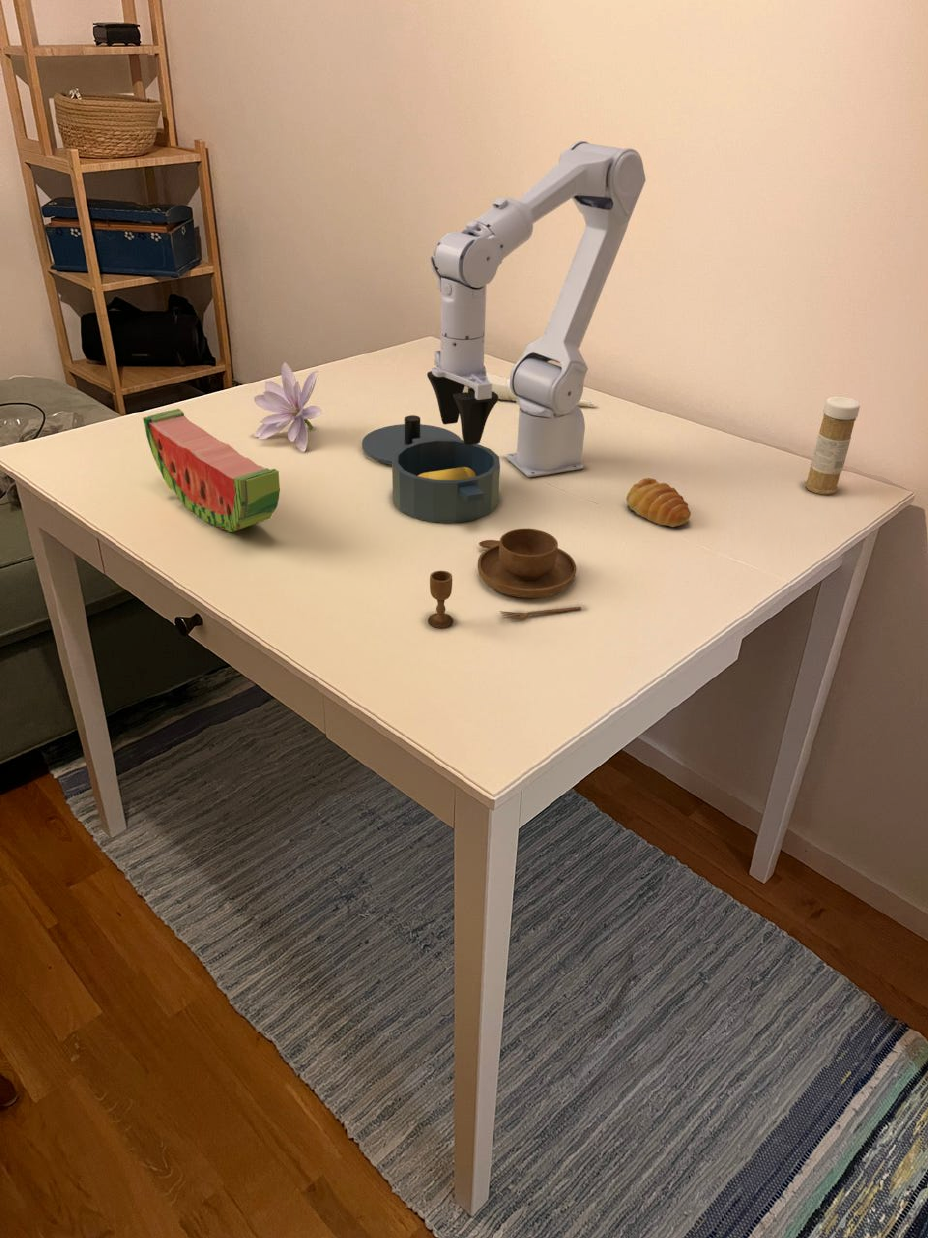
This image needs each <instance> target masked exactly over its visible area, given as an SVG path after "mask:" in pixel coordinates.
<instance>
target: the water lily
mask: <svg viewBox="0 0 928 1238" xmlns="http://www.w3.org/2000/svg"><path fill="white" fill-rule="evenodd" d="M280 373H281V382H282V386H281V385H280V384H279V383H278V382H275V381H272V380H266V381H264V384H263V385H264V391H263V394H257V395H255V396H253V398H252V399H253V402H254V403H255V405H257V407H259V408H261V409H262V410H265V411H268V412H270V413H273V414H270V415H267V416H265V417H264V418H262V419H261V420H260V421H259V424H261V425H259V427H258V428H257V429H256V431H255V432H254V438H258V440H259V441H262V440H265V439H268V438H271V437H273V436H275V435H277V434H278V433H280V432H281V431H283V430H284V429H286V427H287V426H289V428H288V430H287V437H288V441H290V442H291V443H293V442H295V445H296V447H297V448H298V450H300V451H301V452H303V453H305V451H306V450H307V447H308V440H309V438H308V437H309V435H308V434H309V433H308V429H309V430H313V429H314V426H313V424H312V423H311V422H310V421H309V420H311V419H312V420H313V419H315V418H317V417H319V416H320V415H321V414H322V412H323V411H322V409H321V408H320V407H319V406H317V405H310V406H307V407H305V406H306V404H307V403H308V401H309V400H310V398H311V396H312V394H313V392H314V390H315V386H316V383H317V378H318V370H314V371H312V372H311V373H309V375H308V376H307V378H306V379H305V381H304V383H303V386H302V389H301V387H300V386H301V385H300V382H299V380H297V381H296V377H295V375H294V372H293V370H292V368H291V367H290V365H289V364H288V363H287V362H283V364H282V366H281V372H280ZM304 407H305V408H304ZM307 427H308V428H307Z"/></svg>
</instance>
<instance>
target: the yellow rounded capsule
mask: <svg viewBox="0 0 928 1238" xmlns="http://www.w3.org/2000/svg"><path fill="white" fill-rule="evenodd" d="M418 476H419V477H424V478H429V479H434V480H462V479H468V478H474V477H477V476H476V474H475V472H474V471H473V470H472V469H470V468H468V467H459V468H453V469H446V470H440V471H433V472H427V473H422V474H420V475H418Z"/></svg>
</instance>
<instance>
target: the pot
mask: <svg viewBox="0 0 928 1238" xmlns="http://www.w3.org/2000/svg"><path fill="white" fill-rule="evenodd" d="M500 462H501V461H500V456H499V455H498V454H497V453H496V452H495V451H493V450H492V449H491V448H489V447H486V446H484V445H482V444H480V443H477V444H471V445H466V444H465V443H464V440H463V439H461V440H457V439H432V440H430V439H429V438H428V437H424V438H416V439H412V444H409V445H407V446H404V447H402V448H400V449H399V450H398V451H397V452H396V453H395V454H393V461H392V464H391V465H392V466H391V469H392V471H391V472H392V473H391V474H392V501H393V504H394V506H395V507H396V509H398V510H399V511H400V512H401V513H402V514H405V515H406V516H408V517H410V518H413V519H416V520H419V521H423V522H428V523H436V524H458V523H459V524H460V523H466V522H471V521H475V520H478V519H481V518H483V517H485V516H487V515H489V514H490V513H492V512H493V511H494V510H495V509H496V507H497V505H498V502H499V493H500V492H499V491H500V475H501V473H500V472H501V463H500ZM459 467H468V468H470V469H472V470H473V471H474V472H475V474H476V476H477V477H474V478H468V479H462V480H434V479H429V478H424V477H419V476H418V475H420V474H422V473H427V472H433V471H440V470H446V469H453V468H459Z"/></svg>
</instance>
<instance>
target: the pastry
mask: <svg viewBox="0 0 928 1238" xmlns="http://www.w3.org/2000/svg"><path fill="white" fill-rule="evenodd" d="M625 499H626V501H627V502H626V503H627V504H628V506H629V508H630V510H631V511H632V510H633V511H634V512H635V513H636V515H638V516H640V517H641V518H645V519H647V520H648V521H649V522H653V524H657V525H659V526H669V527H671V528H674V527H679V526H681V525H685V524H686V523H688V521H689V519H690V518H691V515H692V511H691V510H690V508H689V504H688V502H686V501H685V499H684V496H682V495H680V494H679V492H678V491H677V489H676V488H675V487H671V486H670V485H669V484H668V483H667V482H659V481H657V479H655V478H653V477H652V478H651V477H647V478H642V479H640V480H639V481H638V482H636V483H634V485H632V487H631V488H630V490H629V491H628V493H627V494H626V497H625Z"/></svg>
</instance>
